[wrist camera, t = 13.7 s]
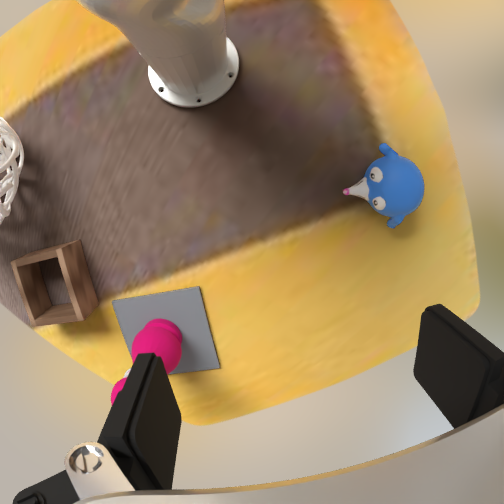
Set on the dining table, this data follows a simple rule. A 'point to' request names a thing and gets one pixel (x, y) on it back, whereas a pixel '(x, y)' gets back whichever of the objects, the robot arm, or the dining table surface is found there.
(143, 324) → the mat
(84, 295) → the holder
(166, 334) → the pink bowling pin
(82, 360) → the dining table surface
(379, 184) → the blue mole toy
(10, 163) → the decorative ball
